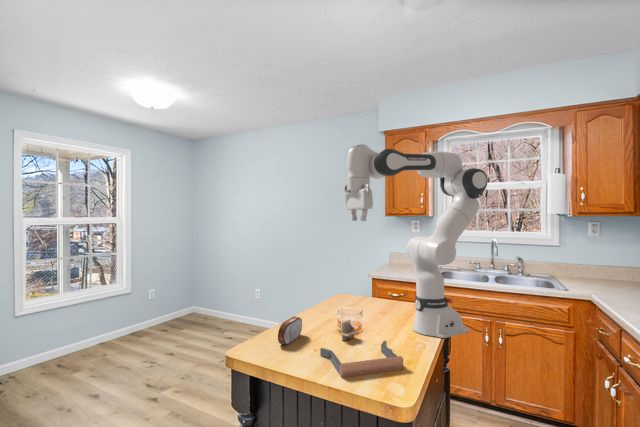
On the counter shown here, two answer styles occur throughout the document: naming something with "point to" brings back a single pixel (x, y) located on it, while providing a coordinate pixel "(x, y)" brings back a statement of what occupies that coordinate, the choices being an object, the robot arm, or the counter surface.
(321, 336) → the counter surface
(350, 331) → the grey irregular piece
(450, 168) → the robot arm
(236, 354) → the counter surface
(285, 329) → the tin
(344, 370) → the brown drawer handle
